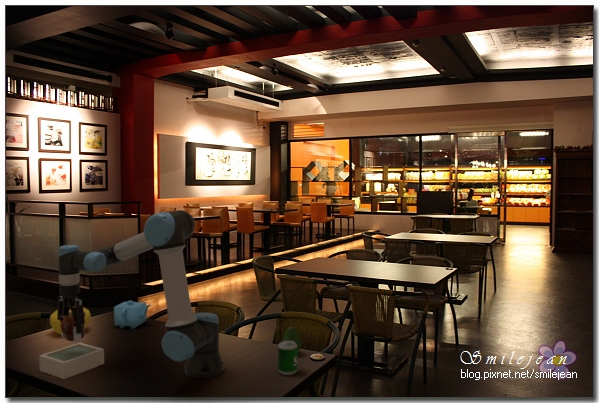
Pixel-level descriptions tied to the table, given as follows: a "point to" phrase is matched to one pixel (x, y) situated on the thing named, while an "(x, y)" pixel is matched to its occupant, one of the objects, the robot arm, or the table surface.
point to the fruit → (293, 337)
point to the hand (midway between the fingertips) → (71, 339)
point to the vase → (57, 324)
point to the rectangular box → (71, 360)
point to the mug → (70, 327)
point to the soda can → (287, 357)
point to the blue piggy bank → (130, 314)
